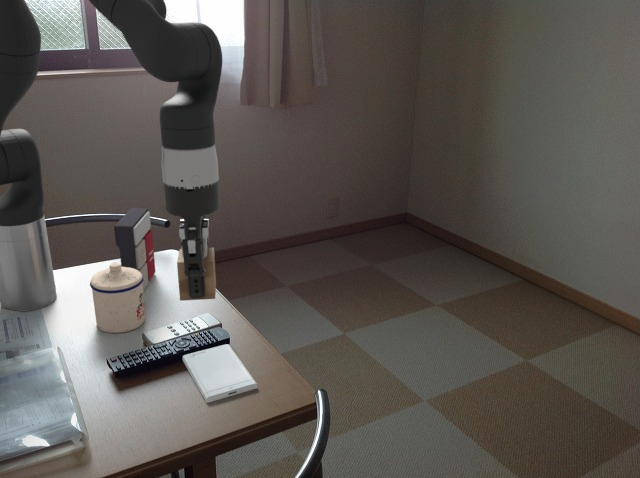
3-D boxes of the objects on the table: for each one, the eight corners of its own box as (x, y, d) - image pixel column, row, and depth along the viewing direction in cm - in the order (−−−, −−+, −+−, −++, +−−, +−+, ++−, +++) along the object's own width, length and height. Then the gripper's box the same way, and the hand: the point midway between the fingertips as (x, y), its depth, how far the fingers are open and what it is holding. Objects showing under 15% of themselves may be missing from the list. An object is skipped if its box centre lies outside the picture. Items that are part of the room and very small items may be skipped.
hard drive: (182, 355, 97) (206, 397, 87) (229, 343, 101) (257, 382, 91) (182, 363, 98) (206, 406, 88) (229, 351, 102) (257, 390, 92)
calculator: (142, 296, 118) (136, 226, 112) (121, 296, 118) (113, 226, 112) (157, 273, 128) (152, 208, 122) (137, 272, 128) (131, 207, 122)
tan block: (180, 300, 85) (177, 262, 82) (182, 285, 89) (179, 248, 87) (215, 298, 85) (213, 260, 83) (215, 283, 90) (214, 247, 88)
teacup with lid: (150, 329, 106) (145, 271, 102) (97, 338, 103) (89, 279, 99) (141, 299, 117) (135, 245, 112) (92, 307, 113) (85, 252, 109)
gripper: (167, 164, 87) (176, 269, 93) (157, 193, 74) (167, 313, 80) (219, 163, 88) (224, 267, 94) (217, 191, 75) (223, 310, 81)
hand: (198, 287), depth 87 cm, fingers closed on tan block, 5 cm apart
